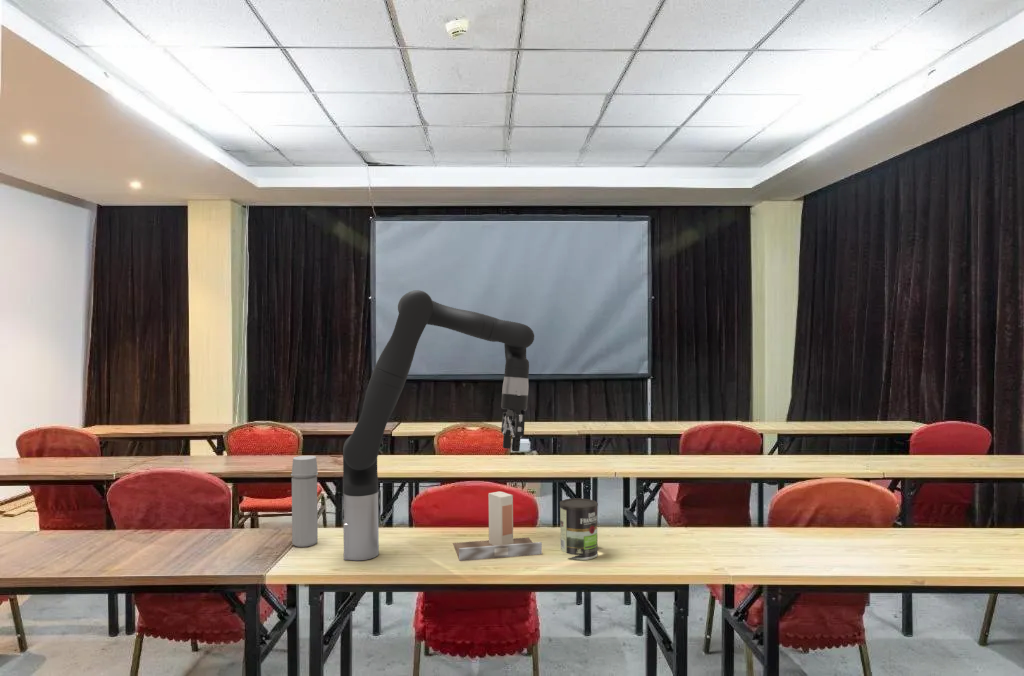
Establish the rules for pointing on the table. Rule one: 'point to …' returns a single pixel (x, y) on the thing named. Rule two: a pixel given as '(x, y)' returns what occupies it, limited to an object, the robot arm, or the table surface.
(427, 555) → the table surface
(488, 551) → the grey tray
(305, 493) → the water bottle
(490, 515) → the tea box
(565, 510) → the coffee can
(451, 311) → the robot arm
